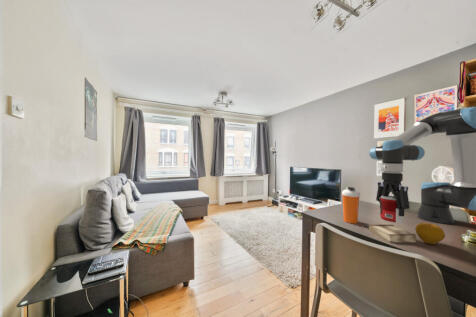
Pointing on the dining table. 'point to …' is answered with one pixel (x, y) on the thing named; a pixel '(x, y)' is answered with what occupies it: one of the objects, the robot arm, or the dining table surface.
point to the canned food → (388, 208)
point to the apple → (430, 233)
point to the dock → (392, 233)
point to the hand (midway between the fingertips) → (391, 219)
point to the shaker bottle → (350, 205)
